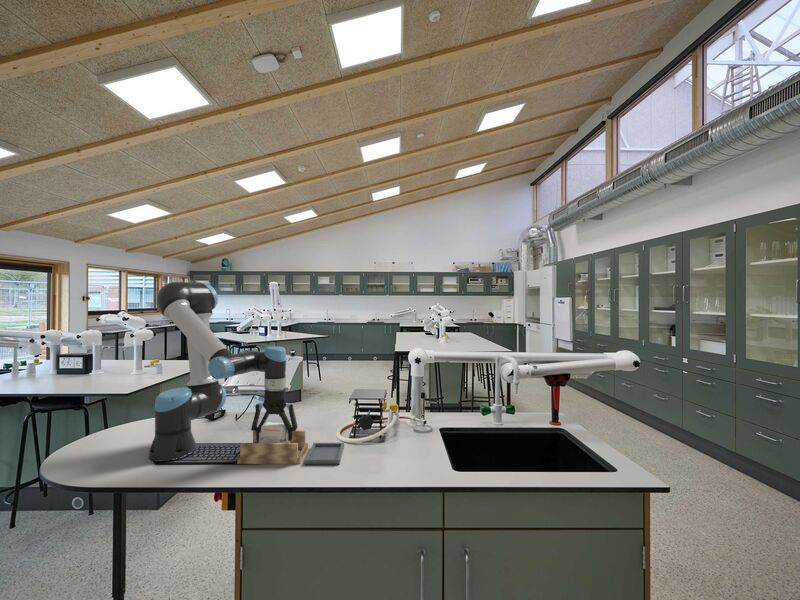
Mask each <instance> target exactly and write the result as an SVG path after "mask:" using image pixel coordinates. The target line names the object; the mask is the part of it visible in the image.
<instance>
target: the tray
mask: <svg viewBox="0 0 800 600" xmlns="http://www.w3.org/2000/svg"><path fill="white" fill-rule="evenodd" d="M344 449H345V442H313V443H312V445H311V448H310V450H309V451H308V453H307V455H306V457H305V460H304V465H305V466H340V464H341V461H342V457H343V453H344Z"/></svg>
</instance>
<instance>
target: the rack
mask: <svg viewBox="0 0 800 600" xmlns="http://www.w3.org/2000/svg"><path fill="white" fill-rule="evenodd" d="M306 432H307V431H306V430H304V429H303V430H301V429H300V430H297V429H296V431H293V432H292V440H291V441H290V443H259V441H257V440H256V431H252V442H245V443H244V442H241V443H240V444H239V446H240V447H239V452H240V453H239V456H238V457H237V458H236V460H237V461H236V462H237V463H236V465H259V464H260V465H284V464H285V465H300V464H301V463H302V461H303V459H304V457H305V455H306V453H307V451H308V449H309V443H308V442H306ZM299 450H301V451H300V453H299Z"/></svg>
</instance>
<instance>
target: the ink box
mask: <svg viewBox="0 0 800 600" xmlns="http://www.w3.org/2000/svg"><path fill="white" fill-rule="evenodd" d="M287 431H288V430H287V429H286V427H285V425H284V423H283V422H270V421H266V422H265V423H264V425H262V426H261V443H286V432H287Z"/></svg>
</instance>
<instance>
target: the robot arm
mask: <svg viewBox="0 0 800 600" xmlns="http://www.w3.org/2000/svg"><path fill="white" fill-rule="evenodd" d="M218 298H219V297H218V294H217V291H216V289H215V288H214V287H212V285H211V284H208V283H204V282H192V281H191V282H190V281H189V282H188V281H187V282H186V281H171V282H169V283H166V284H164V285H163V286H161V287H160V289H159V290H158V292H157V295H156V306H157V308H158V311H160V313H161V315H162V316H163V317H164V318H165V319H166V320H169V321H170V320H171V321H172V323H173V324H174V325H175V326H176V327H177V328H178V329H179V330H180V332H182V333H183V335H184V336H185V337H186V344H187V352H188V353H187V354H188V356H187V357H188V367H189V376H190V379H189V380H188V382H187V383H186V387H185V386H184V387H176V388H170V389H167V390H164V391H161V393H159V394H158V395H157V396H156V398H155V404H154V437H153V440H152V442H151V445H150V448H149V452H148V459H149V460H150V461H152V462H155V461H154V460H171V459H176V458H179V457H182V456H184V455H186V454H188V453H190V452H191V451H193V450H194V449H195V448H196V449H197V442H196V441H195V438H194V436H193V432H192V421H193V420H196V419H199V418H202V417H206V416H208V415H212V414H214V413H216V412H218V411H220V410H221V409H222V408H223V407H224V405H225V403H226V400H227V392H226V389H225V388H224V385H223V384H222V383H219V381H220V380H222V379H229V378H231V377H235V376H238V375H243V374H247V373H252V372H262V373H264V392H263V393H264V395H263V396H264V398H263V403H261V402H258V403H257V404H255V406H254V407H255V413H254V416H253V421H252V423H251V431H252V432H253V431H256V440H257V441H259V443H261V426H262V425H264V424H265V423H267V419H268V418H269V416H270V415H278V416H279V417H280V419H281V421H282V423H284V425H285V427H286V429H287V430H288V431H287V432H286V443H290V441H291V440H292V432H293V431H296V430H297V429H298V421H297V417H296V414H295V409H294V408H295V403H294V402H291V403H288V402H287V400H286V385H287V384H286V383H287V382H286V381H287V378H286V377H287V376H286V368H287V352H286V348H285V347H283V346H267V347H265V349H264V351H260V350H259V351H258V350H252V349H249V350H247V349H246V350H241V351H240V352H239V353H233V352H231V350H230V349H228V347H227V346H226V345H225V344H224V343H223V342H222V340H220V339H219V338H218V336H217V335H216V334H215V333H214V332H213V331H212V330H211V328H210V326H211V325H210V318H211V317H212V316H213V314H214V313H213V310H214V309H216V307H217V305H218V303H219V302H218V301H219V299H218ZM263 408H264V409H265V413H264V415H263V417H262V419H261V421H260V423H259V420H260V415H261V411H262V409H263ZM285 408H287V410H288V414H289V418H288V416H287V414H286V411H285ZM289 419H290V420H289ZM258 423H259V425H258Z"/></svg>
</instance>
